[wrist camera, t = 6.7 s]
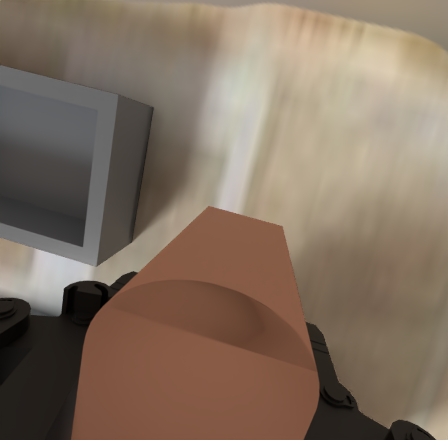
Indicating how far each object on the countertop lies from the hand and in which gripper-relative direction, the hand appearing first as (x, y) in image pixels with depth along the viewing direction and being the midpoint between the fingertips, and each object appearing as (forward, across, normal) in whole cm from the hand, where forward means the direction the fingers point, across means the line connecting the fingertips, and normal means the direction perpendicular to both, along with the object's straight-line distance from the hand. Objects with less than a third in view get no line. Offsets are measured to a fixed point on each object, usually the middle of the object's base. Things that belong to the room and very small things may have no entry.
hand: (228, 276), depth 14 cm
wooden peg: (+1, 0, 0) cm, 1 cm away
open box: (+16, +24, 0) cm, 28 cm away
